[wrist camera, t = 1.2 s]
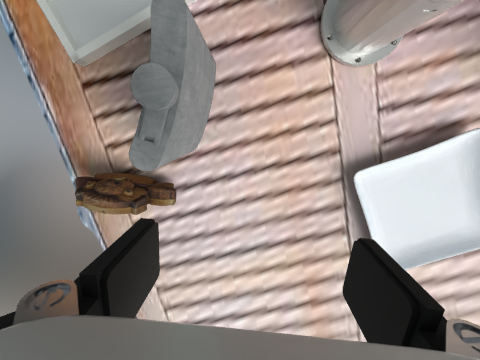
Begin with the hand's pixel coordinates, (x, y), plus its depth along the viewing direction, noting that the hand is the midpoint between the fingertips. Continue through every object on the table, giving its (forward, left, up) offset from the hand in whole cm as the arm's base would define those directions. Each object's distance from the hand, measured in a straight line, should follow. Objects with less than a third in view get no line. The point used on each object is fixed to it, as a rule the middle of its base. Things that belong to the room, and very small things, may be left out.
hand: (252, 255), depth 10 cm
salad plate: (-25, +20, -30) cm, 44 cm away
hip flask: (+3, -12, -30) cm, 32 cm away
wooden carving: (+20, -5, -30) cm, 36 cm away
